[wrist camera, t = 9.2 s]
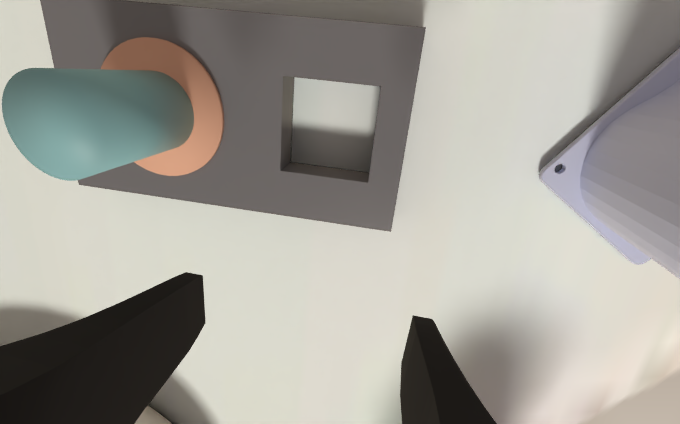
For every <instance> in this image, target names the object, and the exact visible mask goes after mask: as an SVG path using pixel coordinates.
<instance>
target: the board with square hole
mask: <svg viewBox="0 0 680 424" xmlns="http://www.w3.org/2000/svg"><path fill="white" fill-rule="evenodd" d="M40 1H41V6H42V11H43V16H44V20H45V25H46V30H47V35H48V40H49V44H50V49H51V54H52V59H53V63H54V68H58V69H101V66H102V64H103V62H104V60H105V59H106V57H107V56H108V55H109V53H110V52H111V51H112V50H113V49H114V48H115V47H117V46H118V45H120V44H121V43H123V42H125V41H127V40H130V39H134V38H140V37H150V38H158V39H162V40H167V41H169V42H172V43H174V44H176V45H178V46H180V47H182V48H184V49H185V50H186V51H188V52H189V53H191V54H192V55H193V56H194V57H195V58H196V59H197V60H198V61H199V62H200V63H201V64H202V65H203V66H204V67H205V69H206V70H207V71H208V73H209V74H210V76H211V77H212V79H213V81H214V83H215V85H216V87H217V89H218V92H219V94H220V97H221V101H222V105H223V111H224V132H223V136H222V140H221V143H220V146H219V148H218V150H217V152H216V153H215V155H214V156H213V157H212V159H211V160H210V161H209V162H208V163H207V164H206V165H204V166H203V167H201V168H200V169H198V170H196V171H194V172H192V173H189V174H185V175H180V176H167V175H161V174H157V173H154V172H151V171H148V170H146V169H144V168H142V167H141V166H139V165H137V164H136V163H134V162H132V163H129V164H126V165H123V166H119V167H116V168H113V169H110V170H107V171H104V172H101V173H98V174H95V175H92V176H89V177H86V178H83V179H80V180H78V183H79V185H85V186H91V187H98V188H105V189H111V190H118V191H125V192H131V193H138V194H144V195H151V196H158V197H164V198H171V199H178V200H184V201H191V202H198V203H204V204H211V205H218V206H224V207H231V208H237V209H244V210H251V211H257V212H264V213H271V214H277V215H284V216H291V217H297V218H304V219H310V220H317V221H324V222H330V223H337V224H344V225H350V226H357V227H364V228H370V229H377V230H384V231H390V232H391V228H392V222H393V217H394V211H395V205H396V199H397V193H398V187H399V181H400V176H401V170H402V164H403V158H404V152H405V146H406V140H407V135H408V129H409V123H410V117H411V111H412V105H413V99H414V94H415V88H416V82H417V76H418V70H419V64H420V58H421V52H422V47H423V41H424V35H425V29H426V27H415V26H404V25H392V24H381V23H370V22H359V21H347V20H336V19H325V18H313V17H302V16H291V15H280V14H268V13H257V12H246V11H235V10H223V9H212V8H201V7H190V6H178V5H167V4H156V3H144V2H133V1H122V0H40ZM294 77H299V78H308V79H317V80H327V81H336V82H345V83H355V84H364V85H373V86H381V91H380V98H379V106H378V113H377V120H376V128H375V135H374V143H373V150H372V158H371V165H370V173H368V172H360V171H353V170H345V169H338V168H330V167H323V166H315V165H308V164H300V163H293V162H291V140H292V116H293V91H294Z"/></svg>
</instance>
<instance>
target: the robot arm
mask: <svg viewBox="0 0 680 424" xmlns="http://www.w3.org/2000/svg"><path fill="white" fill-rule="evenodd" d="M558 164H562V169H561V170H560V171H558V172H555V171H554V170H555V167H556V166H557V165H558ZM539 179H540V180H541V181H542V182H543V183H544V184H545V185H546V186H547V187H548V188H549V189H550V190H552V191H553V192H554V193H555V194H556V195H557V196H558V197H559V198H560V199H562V200H563V201H564V202H565V203H566V204H567V205H568V206H569V207H570V208H572V209H573V210H574V211H575V212H576V213H577V214H578V215H579V216H580V217H581V218H583V219H584V220H585V221H586V222H587V223H588V224H589V225H590V226H591V227H593V228H594V229H595V230H596V231H597V232H598V233H599V234H600V235H601V236H602V237H604V238H605V239H606V240H607V241H608V242H609V243H610V244H611V245H612V246H614V247H615V248H616V249H617V250H618V251H619V252H620V253H621V254H622V255H624V256H625V257H626V258H627V259H628V260H629V261H630V262H632V263H634V264H638V265H639V264H643V263H645V262H647V261H649V260H650V259H653V260H654V261H655V262H657V263H658V264H660V265H661V266H662V267H664V268H665V269H667V270H668V271H669V272H671V273H672V274H674V275H675V276H676V277H678V278H679V279H680V48H678V49H677V50H676V51H675V52H674V53H673V54H672V55H671V56H669V57H668V58H667V59H666V60H665V61H664V62H663V63H661V64H660V65H659V66H658V67H657V68H656V69H655V70H653V71H652V72H651V73H650V74H649V75H648V76H647V77H646V78H644V79H643V80H642V81H641V82H640V83H639V84H638V85H636V86H635V87H634V88H633V89H632V90H631V91H630V92H628V93H627V94H626V95H625V96H624V97H623V98H622V99H621V100H619V101H618V102H617V103H616V104H615V105H614V106H613V107H611V108H610V109H609V110H608V111H607V112H606V113H605V114H604V115H602V116H601V117H600V118H599V119H598V120H597V121H596V122H594V123H593V124H592V125H591V126H590V127H589V128H588V129H586V130H585V131H584V132H583V133H582V134H581V135H580V136H579V137H577V138H576V139H575V140H574V141H573V142H572V143H571V144H569V145H568V146H567V147H566V148H565V149H564V150H563V151H561V152H560V153H559V154H558V155H557V156H556V157H555V158H554V159H552V160H551V161H550V162H549V163H548V164H547V165H546V166H544V167H543V168H542V169H541V171H540V173H539ZM204 324H205V308H204V291H203V275H197V274H192V273H187V272H186V273H183V274H181V275H178V276H176V277H174V278H172V279H169V280H167V281H165V282H163V283H161V284H159V285H157V286H155V287H153V288H150V289H148V290H146V291H144V292H142V293H140V294H138V295H136V296H133V297H131V298H129V299H127V300H125V301H123V302H120V303H118V304H116V305H114V306H111V307H109V308H107V309H104V310H102V311H100V312H97V313H95V314H93V315H90V316H88V317H86V318H83V319H81V320H78V321H75V322H73V323H70V324H68V325H65V326H62V327H59V328H56V329H54V330H51V331H48V332H45V333H42V334H39V335H36V336H33V337H30V338H26V339H23V340H20V341H16V342H13V343H10V344H7V345H3V346H0V424H135V422H136V421H137V419H138V418H139V416H140V415H141V414H142V412H143V411H144V409H145V408H146V407H147V406H148V404H149V403H150V402H151V400H152V399H153V398H154V396H155V395H156V394H157V392H158V391H159V390H160V389H161V387H162V386H163V385H164V383H165V382H166V381H167V379H168V378H169V377H170V375H171V374H172V373H173V372H174V370H175V369H176V368H177V366H178V365H179V364H180V362H181V361H182V360H183V358H184V357H185V356H186V354H187V353H188V351H189V350H190V349H191V347H192V345H193V344H194V342H195V340H196V339H197V337H198V335H199V333H200V331H201V330H202V328H203V326H204ZM400 397H401V413H402V424H497V423H496V422H495V421H494V419H493V418H492V417H491V415H490V414H489V413H488V411H487V410H486V408H485V407H484V406H483V404H482V403H481V401H480V400H479V398H478V397H477V395H476V394H475V392H474V391H473V389H472V388H471V386H470V385H469V383H468V381H467V380H466V378H465V377H464V375H463V373H462V372H461V370H460V368H459V367H458V365H457V363H456V362H455V360H454V358H453V356H452V355H451V353H450V351H449V349H448V347H447V346H446V344H445V342H444V340H443V338H442V336H441V334H440V332H439V330H438V328H437V326H436V324H435V322H434V321H433V320H432V319H429V318H423V317H418V316H413V318H412V322H411V326H410V330H409V334H408V338H407V343H406V347H405V351H404V355H403V359H402V365H401V390H400Z"/></svg>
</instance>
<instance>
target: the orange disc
mask: <svg viewBox="0 0 680 424" xmlns="http://www.w3.org/2000/svg"><path fill="white" fill-rule="evenodd" d="M101 69H105V70H152V71H158V72H162V73H164V74H166V75H168V76H170V77H172V78H173V79H174V80H176V81H177V82H178V83H179V84H180V85H181V86H182V88H183V89H184V90H185V92H186V93H187V95H188V97H189V99H190V101H191V104H192V107H193V112H194V125H193V130H192V133H191V135H190V137H189V138H188V140H187V141H186V142H185V143H184V144H182V145H181V146H179V147H177V148H174V149H171V150H168V151H165V152H162V153H159V154H156V155H153V156H150V157H147V158H144V159H141V160H138V161H135V162H134V163H136V164H137V165H139V166H141V167H142V168H144V169H146V170H148V171H151V172H154V173H157V174H161V175H167V176H180V175H185V174H189V173H192V172H194V171H196V170H198V169H200V168H201V167H203V166H204V165H206V164H207V163H208V162H209V161H210V160H211V159H212V157H213V156H214V155H215V153H216V152H217V150H218V148H219V146H220V143H221V140H222V136H223V132H224V111H223V105H222V101H221V97H220V94H219V92H218V89H217V87H216V85H215V83H214V81H213V79H212V77H211V76H210V74H209V73H208V71H207V70H206V69H205V67H204V66H203V65H202V64H201V63H200V62H199V61H198V60H197V59H196V58H195V57H194V56H193V55H192V54H191V53H189V52H188V51H186V50H185V49H184V48H182V47H180V46H178V45H176V44H174V43H172V42H169V41H167V40H162V39H158V38H150V37H140V38H134V39H130V40H127V41H125V42H123V43H121V44H120V45H118V46H117V47H115V48H114V49H113V50H112V51H111V52H110V53H109V55H108V56H107V57H106V59H105V60H104V62H103V64H102V66H101Z"/></svg>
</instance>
